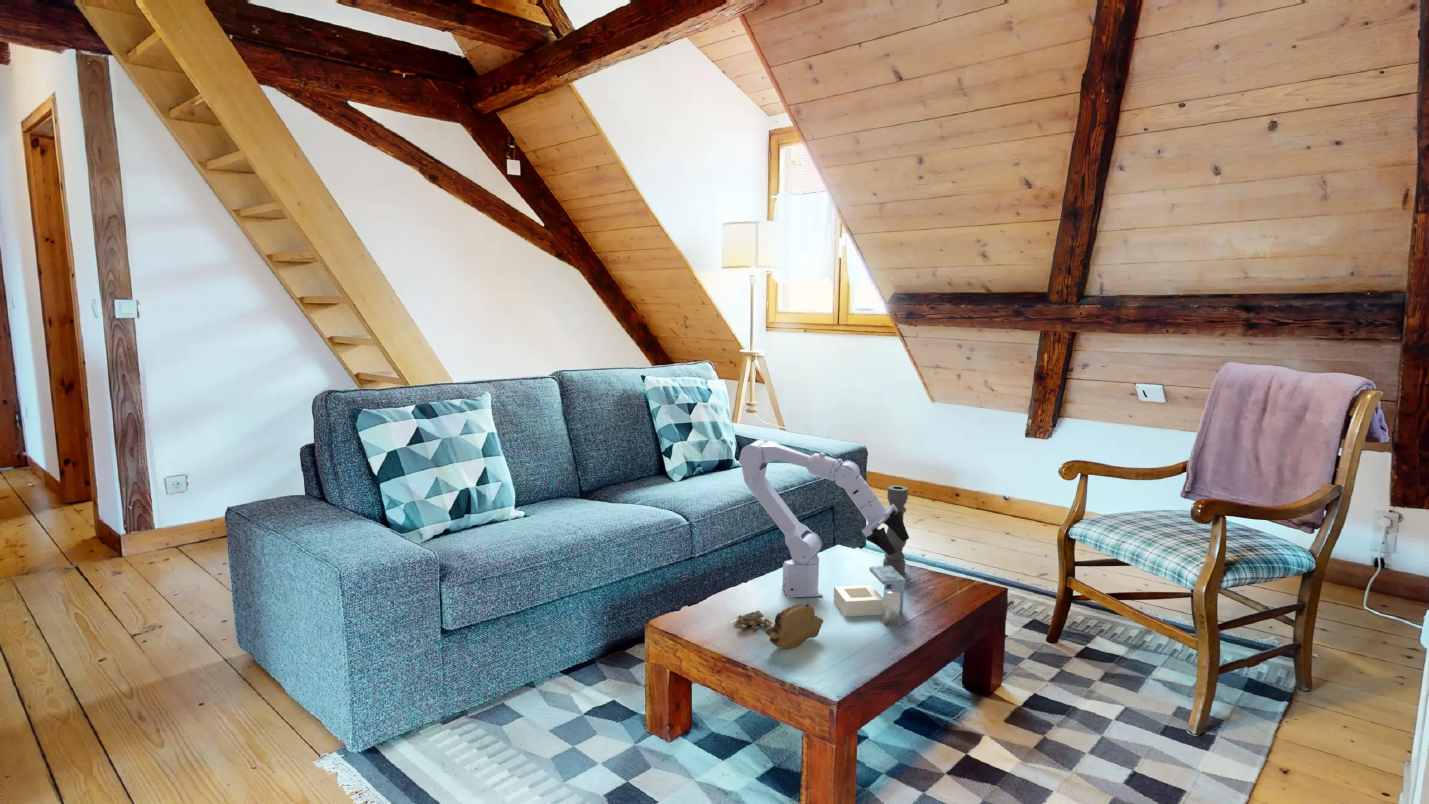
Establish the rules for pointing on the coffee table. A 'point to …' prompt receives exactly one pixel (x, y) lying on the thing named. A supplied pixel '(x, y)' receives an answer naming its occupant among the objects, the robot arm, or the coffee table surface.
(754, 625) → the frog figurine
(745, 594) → the coffee table surface
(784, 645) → the wooden carving
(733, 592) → the coffee table surface
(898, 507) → the candle holder
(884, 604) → the peg
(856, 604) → the socket block
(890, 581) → the grey arch block
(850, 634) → the coffee table surface
